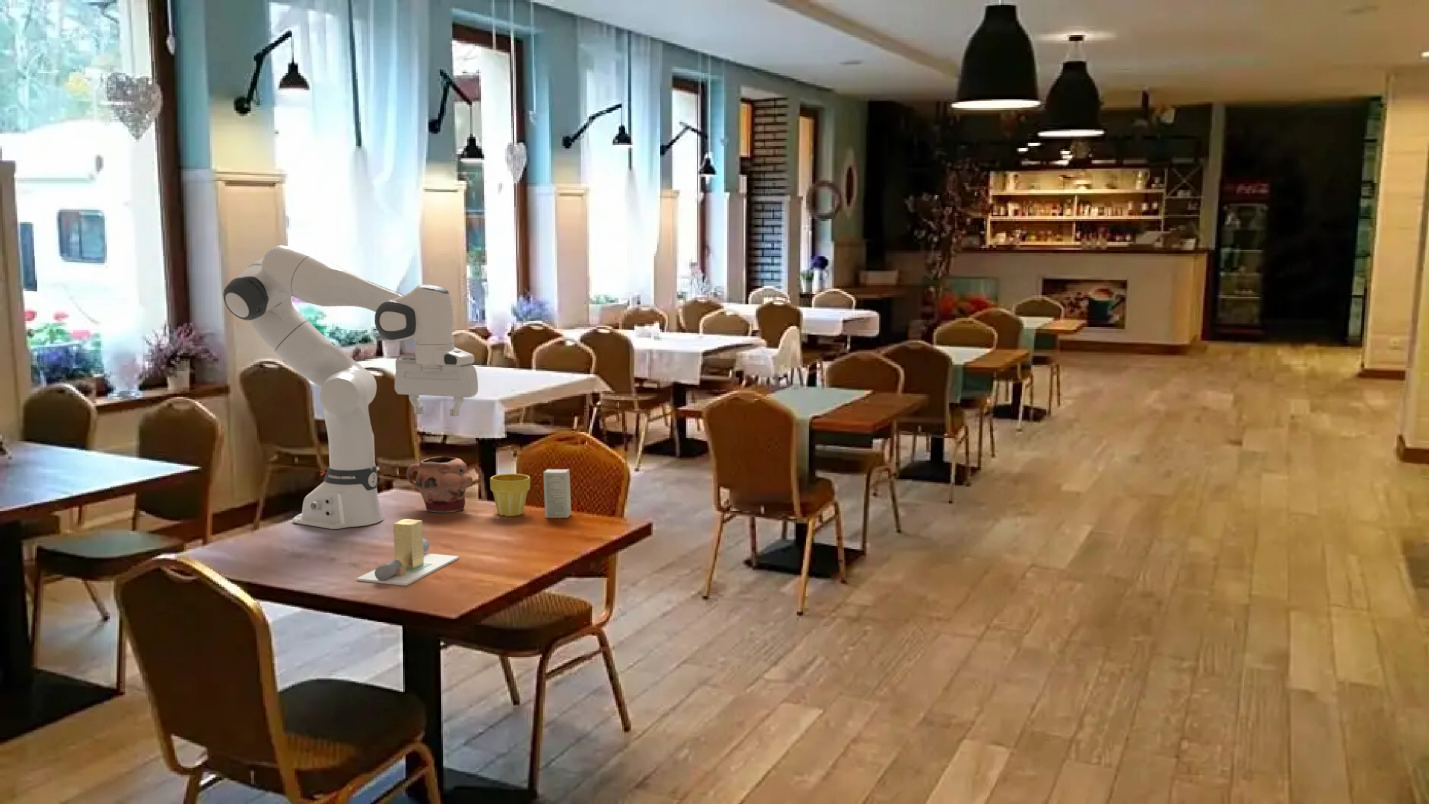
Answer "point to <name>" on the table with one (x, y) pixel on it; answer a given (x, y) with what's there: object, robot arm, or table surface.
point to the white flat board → (402, 576)
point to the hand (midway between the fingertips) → (436, 414)
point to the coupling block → (409, 543)
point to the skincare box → (557, 493)
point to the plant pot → (510, 493)
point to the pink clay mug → (441, 483)
